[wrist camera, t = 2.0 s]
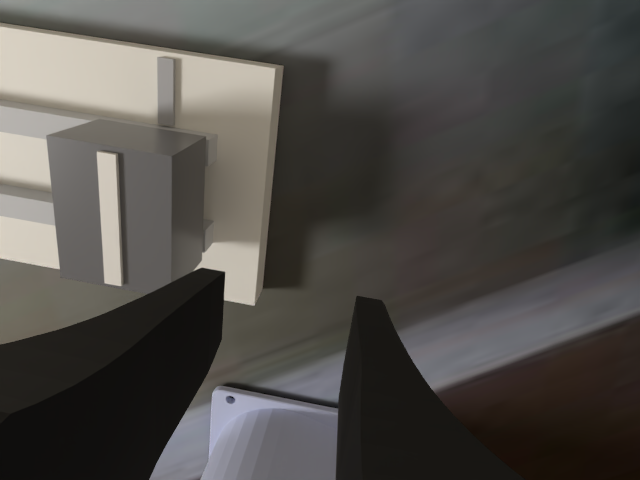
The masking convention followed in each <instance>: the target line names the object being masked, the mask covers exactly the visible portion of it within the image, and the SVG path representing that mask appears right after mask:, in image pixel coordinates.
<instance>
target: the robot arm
mask: <svg viewBox="0 0 640 480" xmlns="http://www.w3.org/2000/svg"><path fill="white" fill-rule="evenodd" d="M224 288H225V272H224V271H218V270H213V269H207V268H200V269H197V270H195V271H193V272H191V273H189V274H187V275H185V276H183V277H181V278H179V279H177V280H175V281H173V282H171V283H169V284H167V285H165V286H163V287H161V288H159V289H157V290H155V291H153V292H151V293H149V294H147V295H145V296H143V297H141V298H139V299H136V300H134V301H132V302H130V303H127V304H125V305H123V306H121V307H118V308H116V309H114V310H112V311H109V312H107V313H105V314H102V315H99V316H97V317H94V318H92V319H89V320H86V321H83V322H80V323H77V324H74V325H71V326H68V327H65V328H62V329H59V330H56V331H52V332H48V333H45V334H41V335H37V336H33V337H30V338H26V339H22V340H18V341H15V342H11V343H6V344H1V345H0V480H149V478H150V476H151V474H152V472H153V470H154V467H155V465H156V463H157V461H158V459H159V457H160V456H161V454H162V452H163V450H164V448H165V446H166V444H167V443H168V441H169V439H170V438H171V436H172V434H173V432H174V431H175V429H176V427H177V426H178V424H179V422H180V420H181V419H182V417H183V415H184V414H185V412H186V410H187V408H188V407H189V405H190V403H191V402H192V400H193V398H194V396H195V395H196V393H197V391H198V389H199V388H200V386H201V384H202V383H203V381H204V379H205V377H206V375H207V374H208V371H209V369H210V367H211V364H212V362H213V360H214V357H215V355H216V352H217V350H218V347H219V345H220V342H221V340H222V323H223V305H224ZM229 396H232V397H234V398H235V399H232V398H230V397H229ZM201 480H525V479H524V478H523V477H521V476H520V475H519V474H517V473H516V472H515V471H513V470H512V469H511V468H510V467H509V466H507V465H506V464H505V463H504V462H503V461H502V460H500V459H499V458H498V457H497V456H496V455H495V454H493V453H492V452H491V451H490V450H489V449H488V448H486V447H485V446H484V445H483V444H482V443H481V442H480V441H479V440H478V439H477V438H476V437H475V436H474V435H472V434H471V433H470V431H469V430H468V429H467V428H466V427H465V426H464V425H463V424H462V423H461V422H460V421H459V420H458V419H457V418H456V417H455V416H454V415H453V414H452V413H451V412H450V411H449V410H448V408H447V407H446V406H445V405H444V404H443V403H442V401H441V400H440V399H439V398H438V396H437V395H436V394H435V393H434V392H433V390H432V389H431V388H430V386H429V385H428V384H427V382H426V381H425V379H424V378H423V376H422V375H421V373H420V372H419V370H418V369H417V367H416V366H415V364H414V363H413V361H412V359H411V358H410V356H409V354H408V353H407V351H406V349H405V347H404V345H403V344H402V342H401V340H400V338H399V336H398V334H397V332H396V330H395V328H394V326H393V324H392V322H391V319H390V317H389V315H388V312H387V310H386V307H385V305H384V303H383V302H382V300H377V299H372V298H366V297H361V296H357V297H356V302H355V307H354V313H353V318H352V323H351V329H350V334H349V339H348V345H347V350H346V355H345V361H344V366H343V373H342V380H341V386H340V393H339V401H338V409H337V408H332V407H327V406H322V405H317V404H312V403H307V402H302V401H297V400H292V399H286V398H281V397H276V396H271V395H266V394H261V393H256V392H251V391H246V390H241V389H236V388H231V387H226V386H218V387H216V388H215V390H214V392H213V394H212V406H211V426H210V446H209V461H208V463H207V465H206V468H205V470H204V473H203V475H202V477H201Z"/></svg>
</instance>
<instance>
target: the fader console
mask: <svg viewBox="0 0 640 480" xmlns="http://www.w3.org/2000/svg"><path fill="white" fill-rule="evenodd" d="M283 68H284V66H283V65H276V64H270V63H263V62H256V61H250V60H243V59H237V58H230V57H223V56H217V55H210V54H204V53H197V52H190V51H184V50H177V49H171V48H164V47H157V46H151V45H144V44H138V43H131V42H124V41H118V40H111V39H105V38H98V37H92V36H85V35H78V34H72V33H65V32H59V31H52V30H45V29H39V28H32V27H26V26H19V25H12V24H6V23H0V258H2V259H7V260H12V261H18V262H23V263H28V264H34V265H39V266H45V267H50V268H55V269H60V266H59V256H58V247H57V237H56V227H55V217H54V208H53V198H52V188H51V178H50V169H49V159H48V149H47V139H46V135H49V134H52V133H55V132H58V131H62V130H65V129H68V128H71V127H75V126H78V125H81V124H84V123H88V122H91V121H94V120H97V119H104V120H110V121H116V122H122V123H128V124H134V125H140V126H146V127H152V128H159V129H165V130H171V131H177V132H183V133H189V134H195V135H201V136H206V157H205V187H204V216H203V245H202V261H201V262H200V263H199V265H198V266H197V267H196V268H195V270H197V269H200V268H207V269H213V270H218V271H224V272H225V288H224V300H227V301H232V302H237V303H243V304H248V305H255V303H256V301H257V299H258V297H259V295H260V293H261V291H262V289H263V279H264V268H265V258H266V247H267V237H268V226H269V215H270V205H271V194H272V184H273V173H274V163H275V152H276V142H277V131H278V120H279V110H280V99H281V89H282V78H283ZM195 270H194V271H195Z"/></svg>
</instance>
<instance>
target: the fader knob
mask: <svg viewBox="0 0 640 480" xmlns="http://www.w3.org/2000/svg"><path fill="white" fill-rule="evenodd" d="M46 139H47V149H48V159H49V169H50V178H51V188H52V198H53V208H54V217H55V227H56V237H57V247H58V256H59V266H60V276H61V278H66V279H71V280H77V281H82V282H87V283H92V284H98V285H103V286H108V287H114V288H119V289H124V290H130V291H135V292H140V293H146V294H149V293H151V292H153V291H155V290H157V289H159V288H161V287H163V286H165V285H167V284H169V283H171V282H173V281H175V280H177V279H179V278H181V277H183V276H185V275H187V274H189V273H191V272H193V271H194V270H195V268H196V267H197V266H198V265H199V263H200V262H201V261H202V245H203V216H204V187H205V157H206V136H201V135H195V134H189V133H183V132H177V131H171V130H165V129H159V128H152V127H146V126H140V125H134V124H128V123H122V122H116V121H110V120H104V119H97V120H94V121H91V122H88V123H84V124H81V125H78V126H75V127H71V128H68V129H65V130H62V131H58V132H55V133H52V134H49V135H46Z"/></svg>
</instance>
